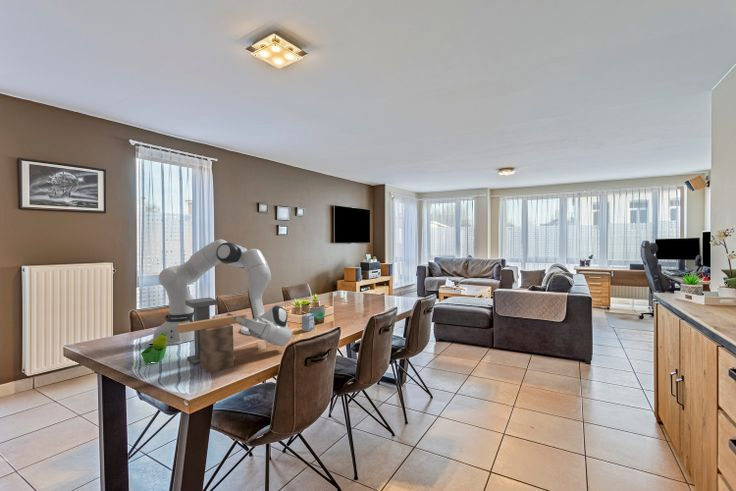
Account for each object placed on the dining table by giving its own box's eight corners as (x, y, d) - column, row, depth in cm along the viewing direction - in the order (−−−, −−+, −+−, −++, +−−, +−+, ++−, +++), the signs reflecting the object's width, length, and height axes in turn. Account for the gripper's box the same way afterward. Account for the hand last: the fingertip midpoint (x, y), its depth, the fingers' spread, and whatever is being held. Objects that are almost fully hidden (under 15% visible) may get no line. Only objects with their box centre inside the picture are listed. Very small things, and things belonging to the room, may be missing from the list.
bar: (243, 320, 155) (243, 313, 155) (246, 321, 152) (246, 314, 152) (177, 331, 138) (177, 324, 138) (179, 333, 135) (179, 325, 135)
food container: (317, 325, 211) (316, 308, 211) (309, 324, 214) (309, 308, 214) (330, 321, 222) (329, 305, 221) (322, 320, 225) (322, 304, 225)
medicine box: (309, 331, 198) (309, 316, 198) (301, 331, 199) (301, 316, 198) (314, 328, 206) (314, 313, 205) (307, 328, 206) (306, 313, 206)
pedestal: (225, 360, 153) (224, 322, 153) (233, 366, 146) (232, 326, 145) (200, 366, 146) (199, 326, 146) (208, 372, 139) (207, 330, 139)
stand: (211, 354, 161) (209, 297, 160) (218, 360, 153) (217, 300, 153) (187, 360, 154) (185, 300, 154) (193, 366, 147) (191, 303, 146)
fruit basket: (149, 357, 159) (148, 332, 159) (171, 355, 162) (170, 330, 162) (140, 365, 148) (139, 338, 148) (164, 363, 151) (163, 336, 151)
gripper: (252, 317, 167) (226, 306, 159) (272, 324, 151) (244, 312, 143) (246, 330, 165) (219, 319, 157) (265, 339, 149) (237, 327, 141)
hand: (231, 316), depth 150 cm, fingers open, 8 cm apart
